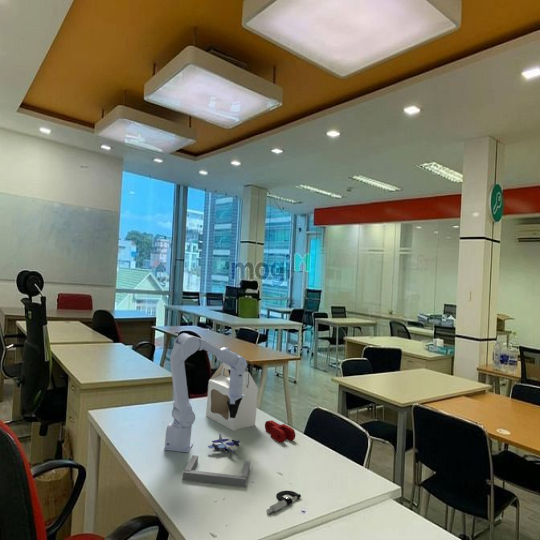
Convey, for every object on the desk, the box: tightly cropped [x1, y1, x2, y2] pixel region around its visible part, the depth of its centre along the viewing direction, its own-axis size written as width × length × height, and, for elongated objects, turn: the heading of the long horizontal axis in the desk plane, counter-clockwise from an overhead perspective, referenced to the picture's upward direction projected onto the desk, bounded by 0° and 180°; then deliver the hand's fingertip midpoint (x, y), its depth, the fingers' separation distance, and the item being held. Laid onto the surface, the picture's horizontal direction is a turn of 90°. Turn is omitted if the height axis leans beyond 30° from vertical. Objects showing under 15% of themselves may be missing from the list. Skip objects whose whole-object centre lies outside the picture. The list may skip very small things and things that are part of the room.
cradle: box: [182, 455, 251, 488], centre depth 138 cm, size 21×13×2 cm, turn 87°
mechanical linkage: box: [264, 420, 296, 444], centre depth 176 cm, size 16×7×5 cm, turn 36°
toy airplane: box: [207, 433, 241, 458], centre depth 156 cm, size 13×14×4 cm
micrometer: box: [266, 490, 302, 515], centre depth 124 cm, size 15×7×2 cm, turn 136°
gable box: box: [205, 362, 259, 431], centre depth 191 cm, size 22×13×28 cm, turn 43°
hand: (233, 416), depth 170 cm, fingers open, 4 cm apart
